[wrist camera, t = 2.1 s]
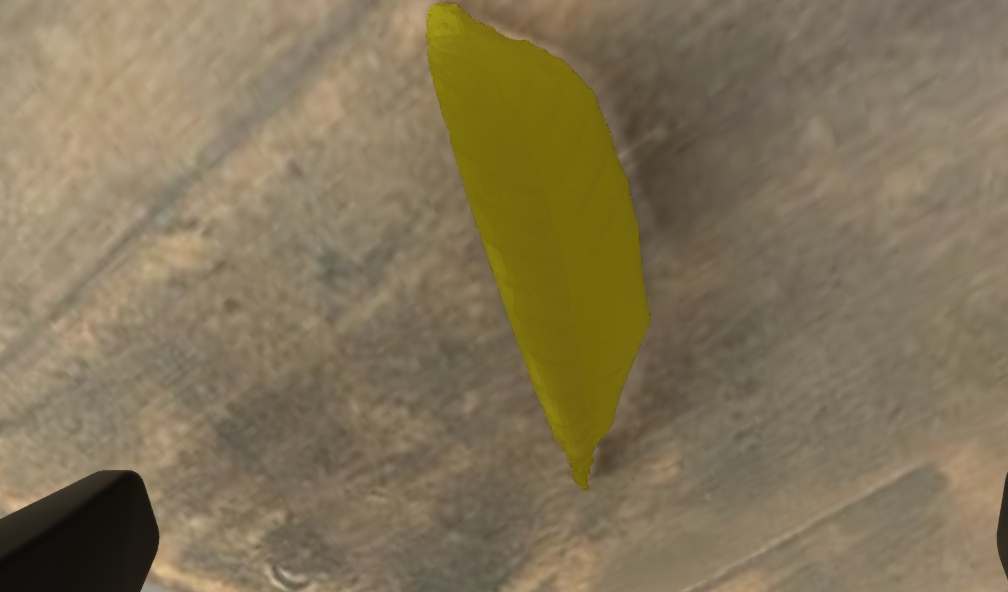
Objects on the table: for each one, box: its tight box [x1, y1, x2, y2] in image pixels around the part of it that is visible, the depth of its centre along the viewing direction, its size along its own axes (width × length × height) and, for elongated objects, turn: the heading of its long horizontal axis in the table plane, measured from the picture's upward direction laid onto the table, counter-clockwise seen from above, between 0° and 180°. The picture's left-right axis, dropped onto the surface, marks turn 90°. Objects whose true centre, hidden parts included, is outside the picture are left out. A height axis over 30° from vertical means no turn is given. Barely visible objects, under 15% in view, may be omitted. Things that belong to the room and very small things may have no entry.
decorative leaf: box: [426, 3, 650, 490], centre depth 14 cm, size 10×2×3 cm, turn 18°
